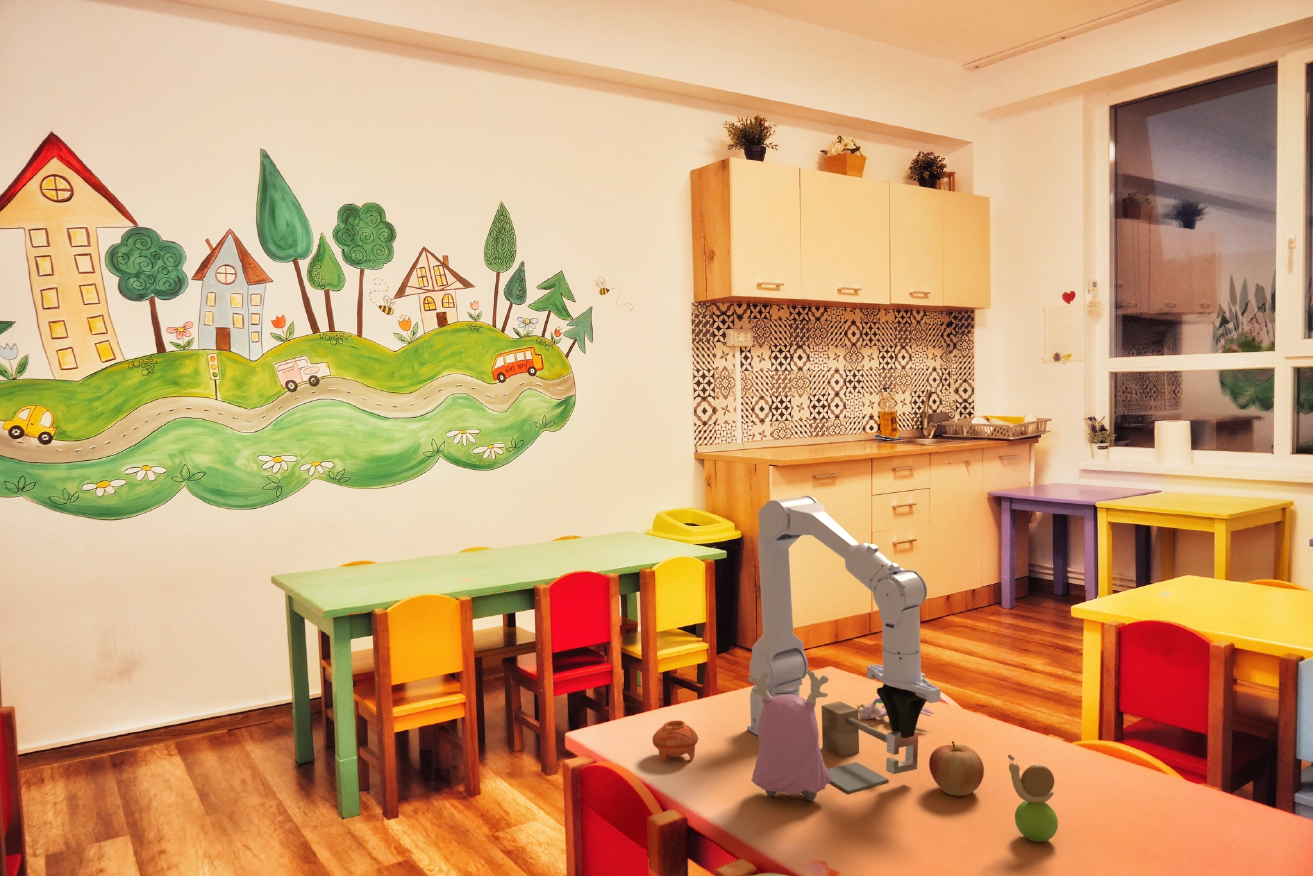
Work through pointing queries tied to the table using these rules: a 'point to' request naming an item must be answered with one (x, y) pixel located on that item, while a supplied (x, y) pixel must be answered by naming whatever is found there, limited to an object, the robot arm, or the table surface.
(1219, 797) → the table surface
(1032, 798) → the snail figurine
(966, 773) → the apple
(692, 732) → the pot
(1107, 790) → the table surface
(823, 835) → the table surface
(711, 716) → the table surface
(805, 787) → the toy character
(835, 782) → the mat
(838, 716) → the stand
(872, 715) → the rabbit figure
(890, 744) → the link
